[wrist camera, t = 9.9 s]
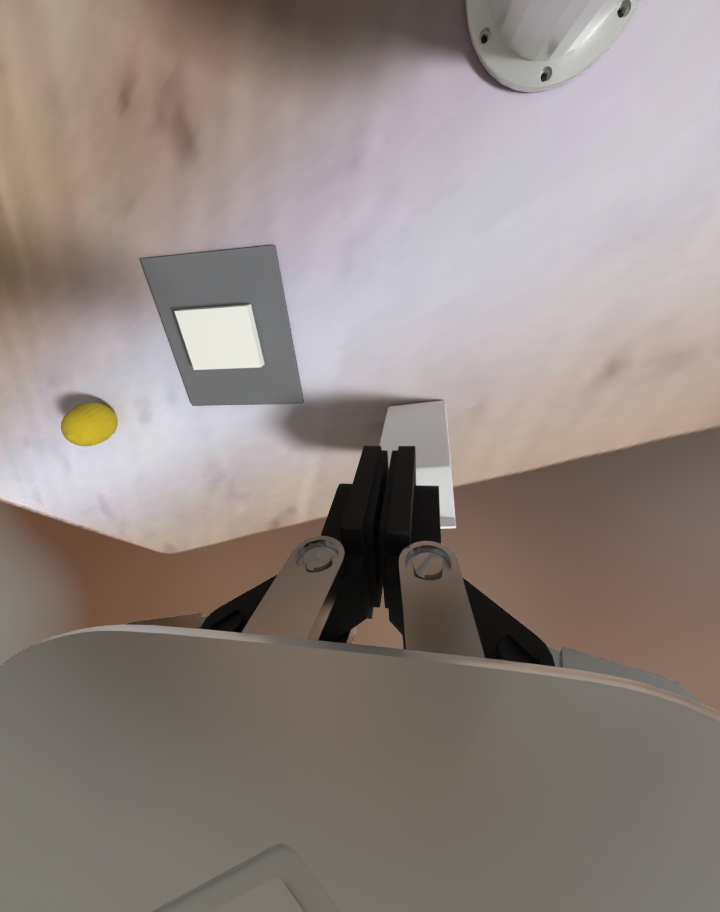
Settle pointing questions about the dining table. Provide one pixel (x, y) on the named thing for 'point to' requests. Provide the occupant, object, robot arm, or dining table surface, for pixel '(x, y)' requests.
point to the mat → (229, 284)
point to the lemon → (89, 424)
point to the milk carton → (424, 448)
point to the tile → (221, 337)
